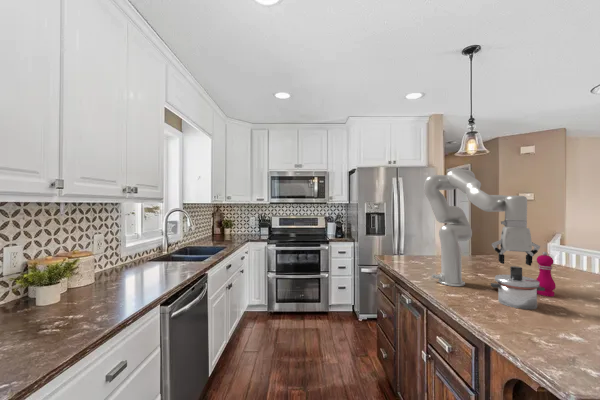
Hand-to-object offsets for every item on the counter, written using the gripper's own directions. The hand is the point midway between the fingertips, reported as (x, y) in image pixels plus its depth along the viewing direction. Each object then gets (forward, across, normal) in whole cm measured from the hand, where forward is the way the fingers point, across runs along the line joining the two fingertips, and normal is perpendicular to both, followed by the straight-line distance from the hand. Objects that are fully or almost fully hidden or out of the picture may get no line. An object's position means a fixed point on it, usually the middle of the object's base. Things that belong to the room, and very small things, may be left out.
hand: (514, 264), depth 120 cm
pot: (+17, +1, -1) cm, 17 cm away
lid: (+8, 0, 0) cm, 8 cm away
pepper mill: (+17, +19, +17) cm, 31 cm away
